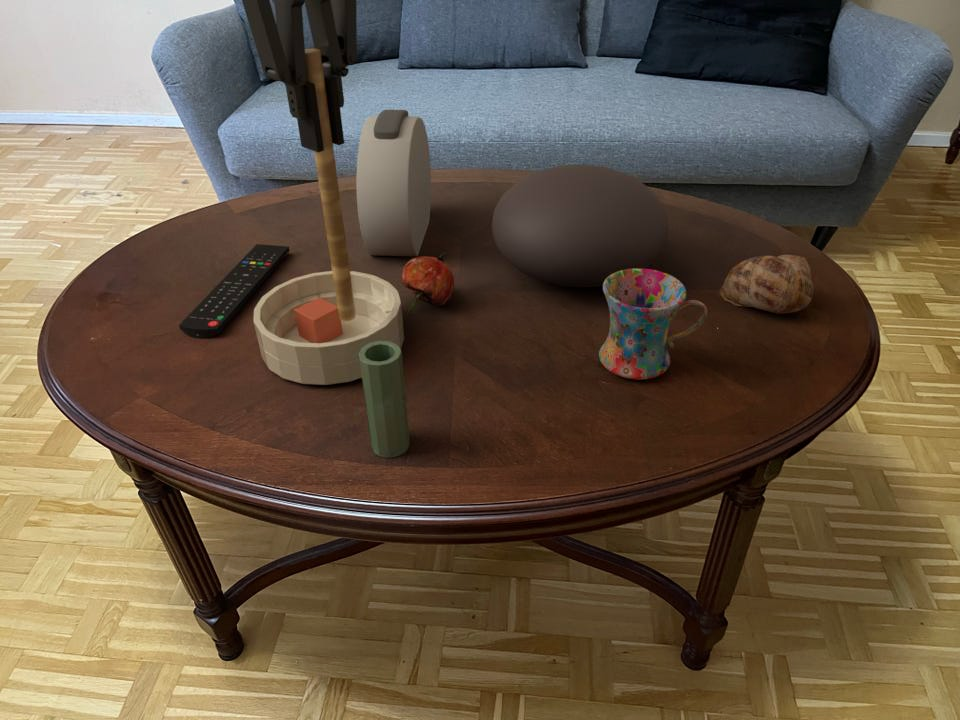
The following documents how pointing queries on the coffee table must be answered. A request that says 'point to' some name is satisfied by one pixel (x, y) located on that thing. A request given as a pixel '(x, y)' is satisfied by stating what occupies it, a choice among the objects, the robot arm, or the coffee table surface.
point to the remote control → (233, 291)
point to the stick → (331, 193)
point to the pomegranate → (428, 279)
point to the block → (318, 321)
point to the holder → (385, 398)
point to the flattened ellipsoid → (579, 225)
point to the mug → (642, 321)
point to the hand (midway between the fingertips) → (323, 144)
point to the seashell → (770, 284)
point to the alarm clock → (393, 184)
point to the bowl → (341, 354)
